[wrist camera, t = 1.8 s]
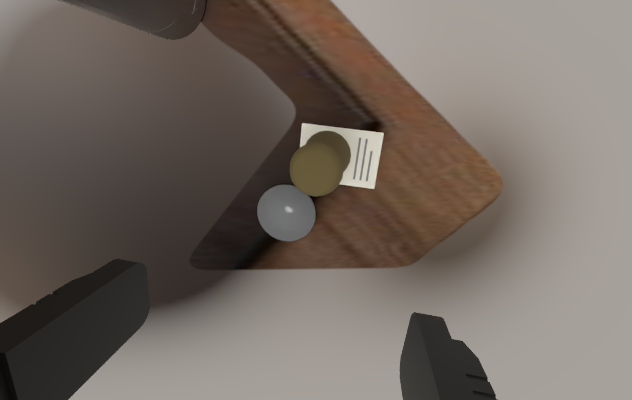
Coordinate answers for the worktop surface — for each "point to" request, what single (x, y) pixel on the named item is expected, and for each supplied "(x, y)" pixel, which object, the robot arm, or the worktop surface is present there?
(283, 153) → the worktop surface
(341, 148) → the cork
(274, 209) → the coaster
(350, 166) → the letter
